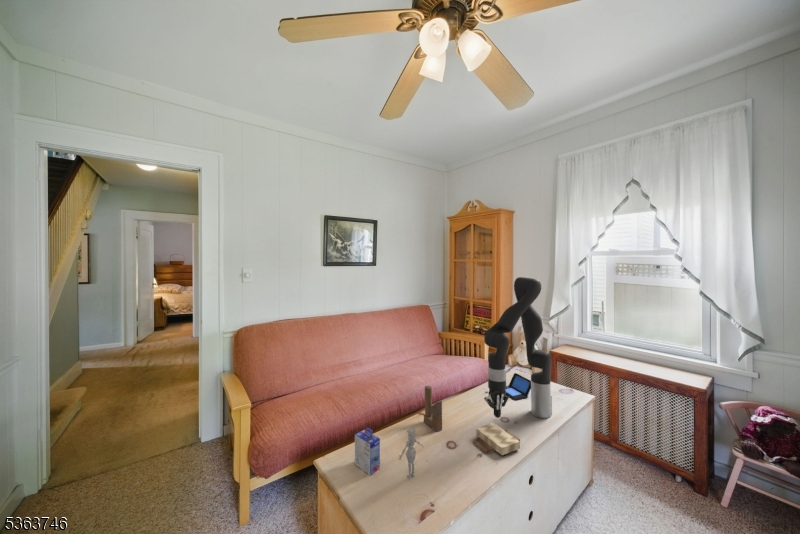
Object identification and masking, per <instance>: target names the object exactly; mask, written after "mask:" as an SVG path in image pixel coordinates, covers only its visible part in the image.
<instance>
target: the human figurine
mask: <svg viewBox="0 0 800 534" xmlns="http://www.w3.org/2000/svg"><path fill="white" fill-rule="evenodd" d="M406 433H407V436H408V440H407V441H405V442H406V443H405V447H404V448H403V449H402V452H401V454H400V455H399V458H398V461H401V460H402V457H403V455H404V454H405V455H406V456H405V458H406V460H407V463H408V464H407V466H408V474H406V478H408V479H409V480H410V479H412V478H413V477H415V473H414V472H415V471H414V470H415V462H416V461H415V460H416V454H417V450H416V448H415V447H414V446H415V443H416V444H417V445H420V446H421V447H424V445H423V444H421V443H420V441H418V440H417V439H416V431H415V429H410V428H409V429H407V431H406Z"/></svg>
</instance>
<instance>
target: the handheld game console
mask: <svg viewBox="0 0 800 534" xmlns="http://www.w3.org/2000/svg"><path fill="white" fill-rule="evenodd" d="M506 393H508V394H510V396H509V398H511V399H512V400H514V401H520V400H525V399H528V397H529V394H530V393H531V379H529V378H526V377H525V376H523V375H521V374H518V373H516V372H514V373H513V376H512V377H511V380H510V382H509V384H508V385H506Z"/></svg>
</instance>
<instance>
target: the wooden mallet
mask: <svg viewBox="0 0 800 534" xmlns="http://www.w3.org/2000/svg"><path fill="white" fill-rule="evenodd" d="M423 422H424V423H425V424H426V425H427V426H429V427H430V428H432V430H434V431H435V432H440V431H443V401H442V400H440V401H435V403H434V404H433V388H432V386H431V385H426V386H424V414H423Z"/></svg>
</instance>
